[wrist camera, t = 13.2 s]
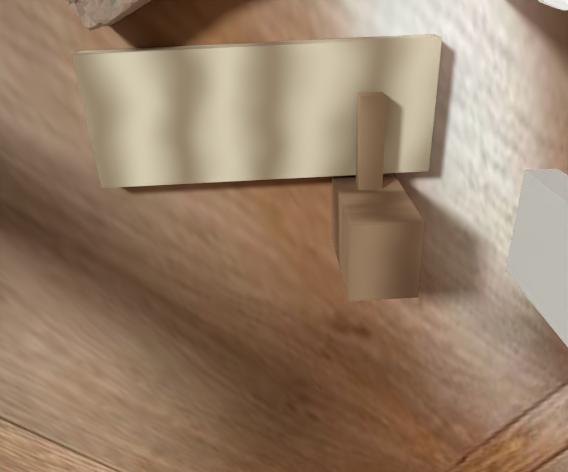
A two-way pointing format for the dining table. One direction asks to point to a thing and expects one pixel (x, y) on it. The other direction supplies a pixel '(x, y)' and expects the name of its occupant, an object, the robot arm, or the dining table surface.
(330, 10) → the dining table surface
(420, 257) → the brown block with handle
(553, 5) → the beverage cup
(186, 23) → the dining table surface
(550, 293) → the robot arm
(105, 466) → the dining table surface
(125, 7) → the brick
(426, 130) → the board
